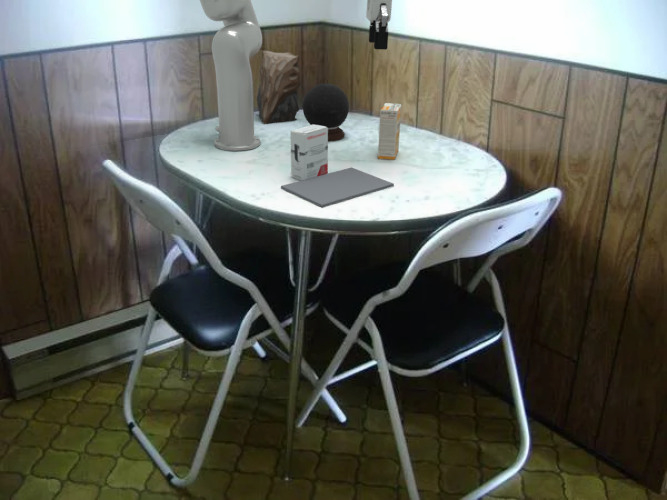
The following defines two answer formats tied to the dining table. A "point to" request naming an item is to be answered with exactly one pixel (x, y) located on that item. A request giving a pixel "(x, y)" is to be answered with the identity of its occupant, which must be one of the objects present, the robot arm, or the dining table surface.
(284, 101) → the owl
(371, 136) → the dining table surface
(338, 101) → the ball on wooden base
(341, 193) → the mat
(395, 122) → the supplement box
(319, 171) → the ink box
